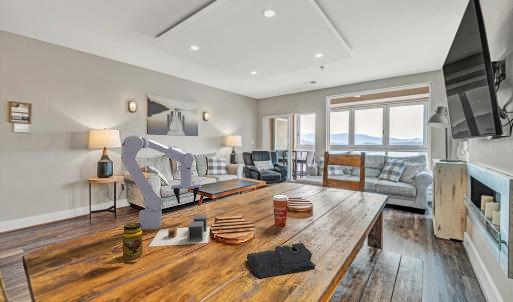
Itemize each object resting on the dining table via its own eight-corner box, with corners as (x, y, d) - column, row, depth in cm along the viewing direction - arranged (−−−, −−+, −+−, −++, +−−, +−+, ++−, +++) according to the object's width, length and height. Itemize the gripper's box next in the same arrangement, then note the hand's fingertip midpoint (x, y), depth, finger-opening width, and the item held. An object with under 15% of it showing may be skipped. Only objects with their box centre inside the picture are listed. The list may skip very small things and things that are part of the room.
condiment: (132, 265, 77) (132, 229, 77) (112, 261, 80) (112, 226, 79) (149, 254, 84) (148, 221, 84) (130, 251, 87) (129, 219, 86)
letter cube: (168, 237, 97) (168, 230, 96) (169, 234, 100) (169, 227, 100) (175, 237, 97) (175, 230, 97) (176, 234, 100) (176, 227, 100)
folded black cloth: (242, 258, 83) (242, 244, 83) (297, 248, 90) (297, 236, 90) (256, 282, 69) (256, 266, 68) (321, 269, 76) (321, 255, 76)
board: (148, 249, 88) (148, 246, 88) (160, 231, 106) (160, 228, 106) (208, 245, 92) (208, 242, 92) (209, 228, 110) (209, 226, 110)
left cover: (188, 241, 93) (188, 226, 93) (190, 235, 98) (190, 221, 98) (202, 240, 94) (202, 225, 93) (203, 235, 99) (203, 221, 99)
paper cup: (270, 226, 113) (270, 197, 112) (275, 221, 120) (275, 194, 120) (286, 228, 110) (286, 198, 110) (290, 223, 117) (290, 195, 117)
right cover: (193, 232, 102) (193, 218, 102) (194, 227, 108) (194, 214, 108) (206, 231, 103) (206, 218, 103) (207, 227, 109) (207, 214, 108)
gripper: (169, 177, 114) (170, 205, 114) (200, 177, 116) (200, 204, 116) (172, 175, 121) (172, 201, 121) (201, 175, 123) (201, 200, 123)
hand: (186, 202), depth 119 cm, fingers open, 7 cm apart
